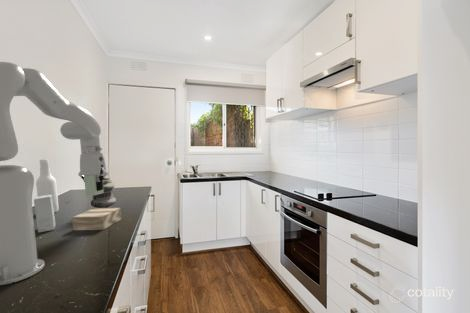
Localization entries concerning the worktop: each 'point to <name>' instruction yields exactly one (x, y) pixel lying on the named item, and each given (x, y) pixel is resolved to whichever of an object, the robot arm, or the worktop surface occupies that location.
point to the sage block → (91, 185)
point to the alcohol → (47, 183)
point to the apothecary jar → (104, 195)
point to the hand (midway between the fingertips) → (94, 189)
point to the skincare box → (44, 213)
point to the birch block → (96, 219)
